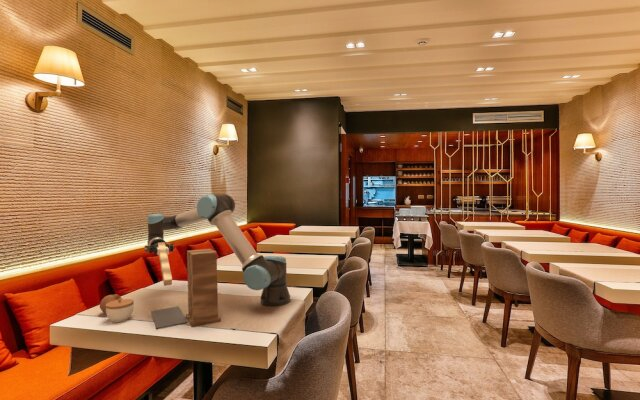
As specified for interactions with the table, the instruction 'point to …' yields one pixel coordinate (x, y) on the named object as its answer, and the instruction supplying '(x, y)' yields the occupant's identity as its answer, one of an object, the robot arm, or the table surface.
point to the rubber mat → (168, 317)
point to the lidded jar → (119, 309)
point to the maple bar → (164, 264)
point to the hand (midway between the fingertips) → (163, 251)
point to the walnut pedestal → (202, 287)
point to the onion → (107, 300)
